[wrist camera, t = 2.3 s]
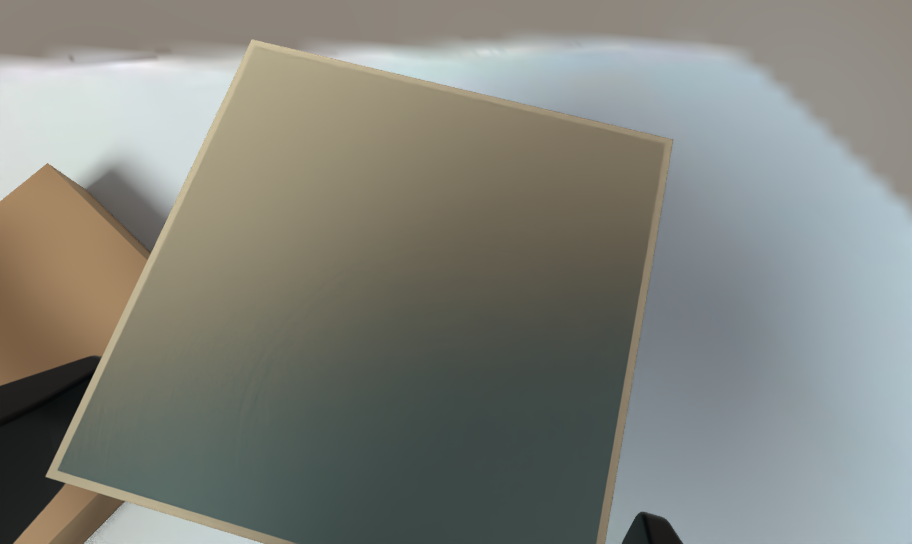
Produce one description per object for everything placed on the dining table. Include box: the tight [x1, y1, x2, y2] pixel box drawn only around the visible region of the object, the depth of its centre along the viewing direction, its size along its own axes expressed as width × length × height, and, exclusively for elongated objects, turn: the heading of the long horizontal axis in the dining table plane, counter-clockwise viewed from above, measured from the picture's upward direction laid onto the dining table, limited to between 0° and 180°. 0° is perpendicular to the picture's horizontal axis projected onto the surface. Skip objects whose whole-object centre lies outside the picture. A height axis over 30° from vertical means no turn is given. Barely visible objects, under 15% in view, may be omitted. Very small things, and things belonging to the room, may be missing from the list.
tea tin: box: [46, 40, 673, 544], centre depth 13 cm, size 7×7×12 cm
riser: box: [0, 163, 151, 544], centre depth 18 cm, size 10×10×2 cm
